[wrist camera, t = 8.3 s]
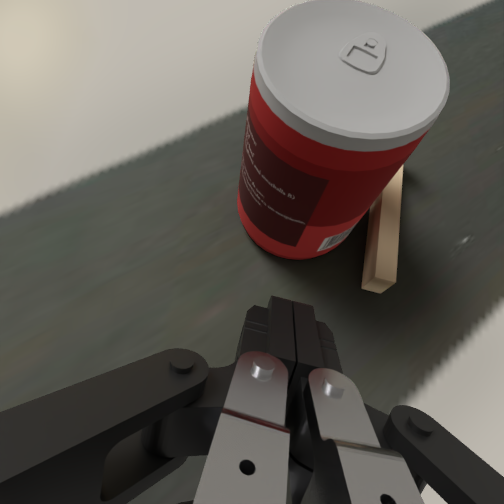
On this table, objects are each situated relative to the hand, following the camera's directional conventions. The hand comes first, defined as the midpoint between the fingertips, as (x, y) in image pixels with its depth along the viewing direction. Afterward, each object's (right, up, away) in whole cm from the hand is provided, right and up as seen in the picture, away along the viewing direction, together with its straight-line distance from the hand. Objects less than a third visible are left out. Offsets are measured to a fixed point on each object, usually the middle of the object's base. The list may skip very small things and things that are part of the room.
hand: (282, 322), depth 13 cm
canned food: (+2, +5, +11) cm, 12 cm away
